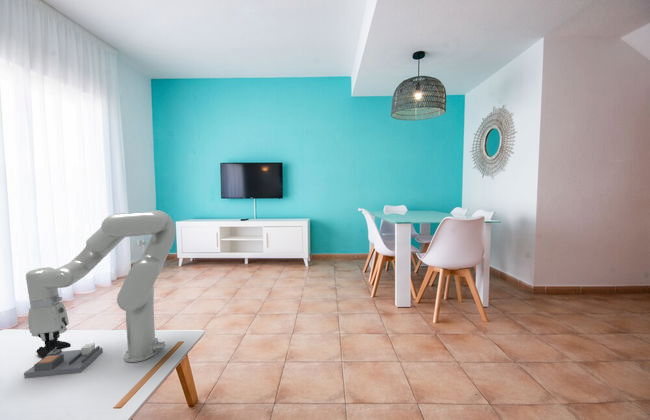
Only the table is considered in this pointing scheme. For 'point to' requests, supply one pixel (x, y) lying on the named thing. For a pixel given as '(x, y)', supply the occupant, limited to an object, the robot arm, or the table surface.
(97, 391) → the table surface
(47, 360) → the push button
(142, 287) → the robot arm
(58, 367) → the control panel
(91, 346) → the slide switch
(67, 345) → the game controller
